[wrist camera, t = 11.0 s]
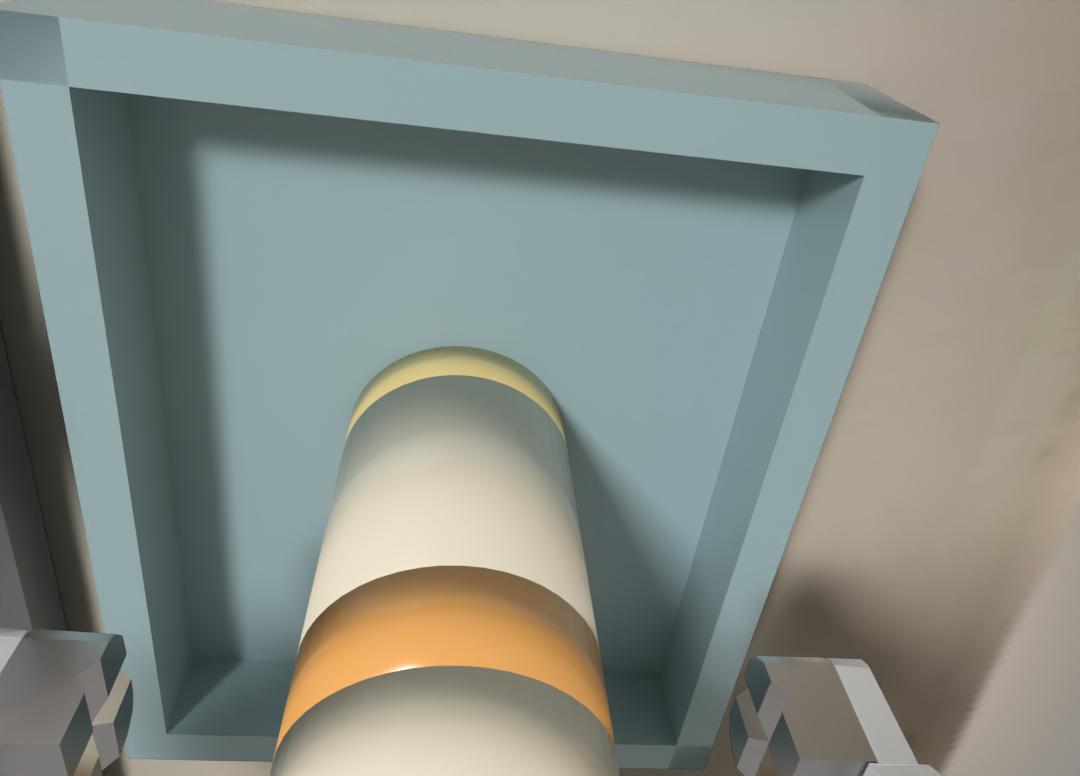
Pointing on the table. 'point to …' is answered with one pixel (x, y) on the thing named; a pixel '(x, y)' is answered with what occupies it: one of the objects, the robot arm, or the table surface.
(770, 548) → the tray
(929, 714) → the table surface
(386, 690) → the cylinder
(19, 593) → the clip block
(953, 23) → the table surface
